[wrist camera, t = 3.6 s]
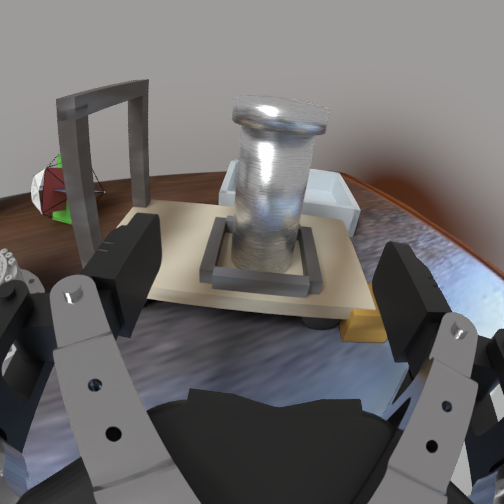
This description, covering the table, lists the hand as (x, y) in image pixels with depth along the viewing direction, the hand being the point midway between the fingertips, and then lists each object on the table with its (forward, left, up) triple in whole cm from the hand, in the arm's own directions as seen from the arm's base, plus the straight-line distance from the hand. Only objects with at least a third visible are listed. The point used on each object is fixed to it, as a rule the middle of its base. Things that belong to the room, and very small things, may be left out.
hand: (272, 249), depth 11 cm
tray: (+3, +21, -8) cm, 23 cm away
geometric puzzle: (-19, +15, -9) cm, 26 cm away
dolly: (-2, +9, -9) cm, 13 cm away
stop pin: (0, +8, -6) cm, 10 cm away
